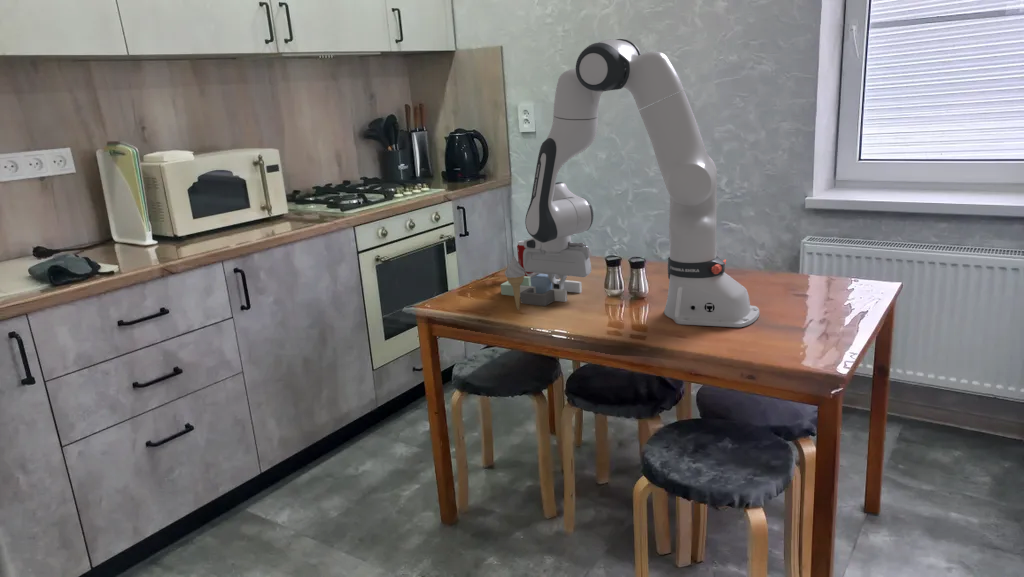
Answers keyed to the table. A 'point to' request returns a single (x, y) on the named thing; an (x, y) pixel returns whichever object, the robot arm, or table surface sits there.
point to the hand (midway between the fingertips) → (558, 289)
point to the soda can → (520, 256)
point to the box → (531, 297)
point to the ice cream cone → (515, 278)
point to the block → (541, 283)
